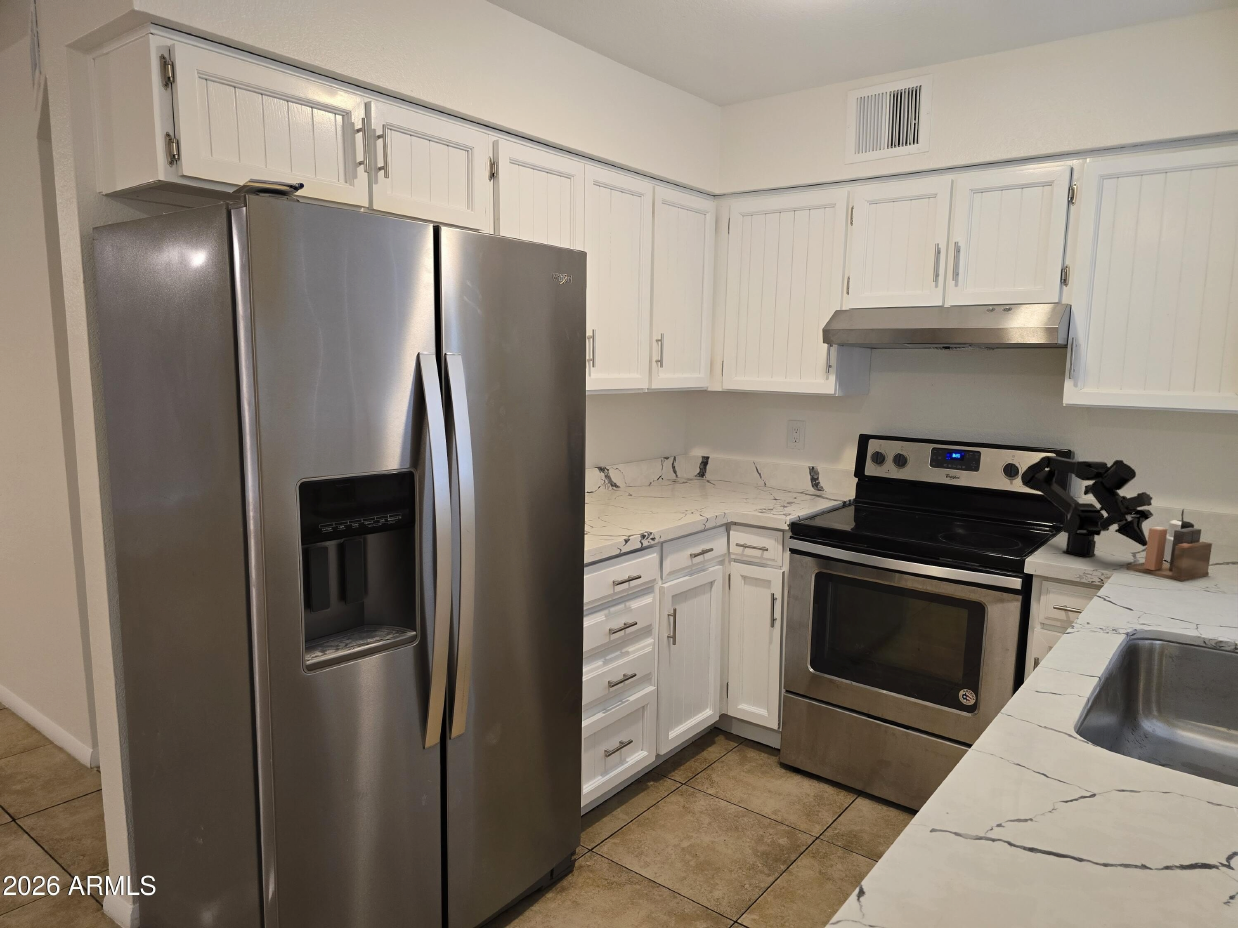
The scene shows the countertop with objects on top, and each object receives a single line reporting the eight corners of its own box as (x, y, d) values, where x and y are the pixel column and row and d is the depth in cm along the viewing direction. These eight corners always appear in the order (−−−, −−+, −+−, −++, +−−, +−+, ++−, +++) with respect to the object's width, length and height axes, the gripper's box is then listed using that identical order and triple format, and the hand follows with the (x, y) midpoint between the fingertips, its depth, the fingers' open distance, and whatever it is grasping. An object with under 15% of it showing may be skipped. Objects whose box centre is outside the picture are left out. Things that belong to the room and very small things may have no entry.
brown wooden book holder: (1126, 569, 223) (1132, 525, 222) (1154, 563, 232) (1160, 521, 230) (1181, 581, 212) (1187, 535, 210) (1208, 575, 220) (1214, 531, 219)
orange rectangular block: (1143, 567, 220) (1149, 527, 219) (1152, 566, 222) (1157, 526, 221) (1153, 570, 218) (1159, 529, 216) (1162, 568, 220) (1167, 527, 219)
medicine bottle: (1182, 559, 240) (1187, 519, 238) (1196, 565, 233) (1202, 524, 231) (1156, 557, 240) (1162, 518, 239) (1170, 563, 233) (1176, 522, 232)
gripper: (1115, 483, 219) (1154, 531, 211) (1150, 480, 229) (1188, 526, 221) (1082, 507, 226) (1119, 554, 219) (1117, 503, 236) (1153, 548, 229)
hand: (1146, 545), depth 221 cm, fingers closed
